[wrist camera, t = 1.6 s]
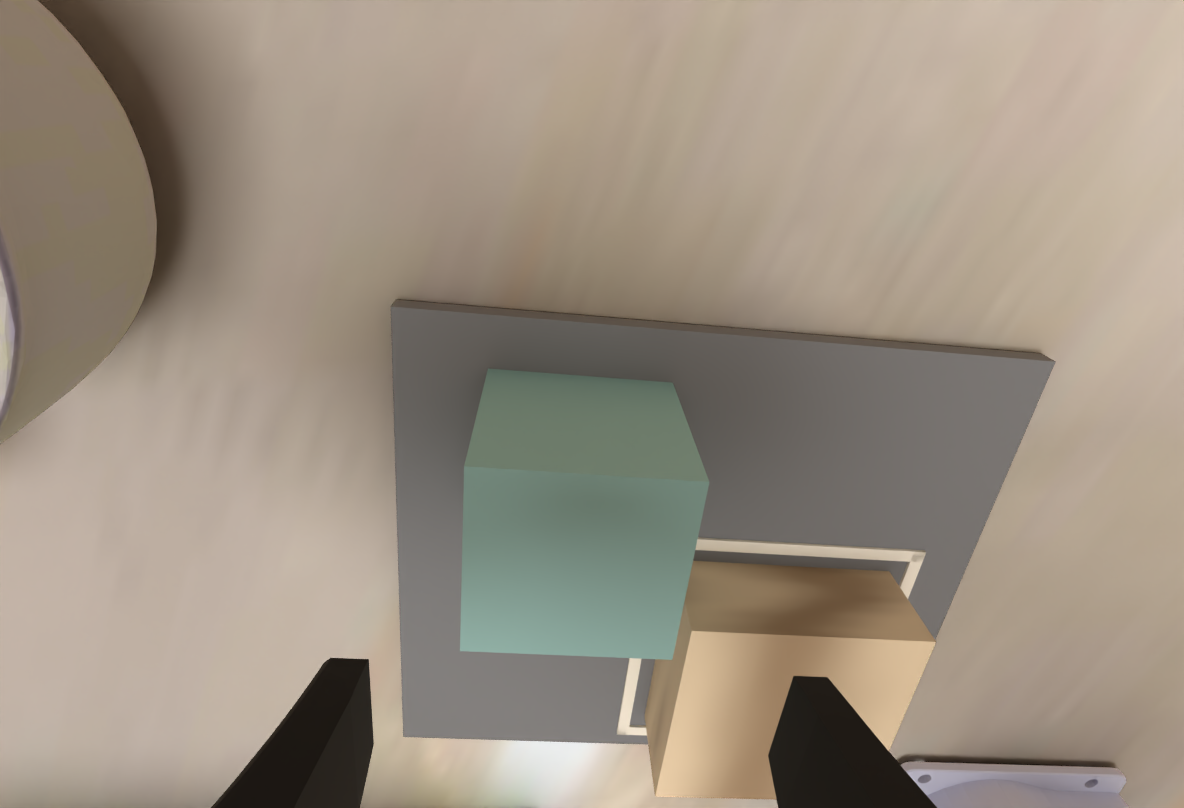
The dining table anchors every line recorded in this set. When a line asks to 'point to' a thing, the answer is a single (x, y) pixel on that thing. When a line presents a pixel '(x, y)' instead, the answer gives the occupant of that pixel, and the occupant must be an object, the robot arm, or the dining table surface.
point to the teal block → (578, 517)
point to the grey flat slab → (733, 466)
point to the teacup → (63, 215)
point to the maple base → (774, 668)
